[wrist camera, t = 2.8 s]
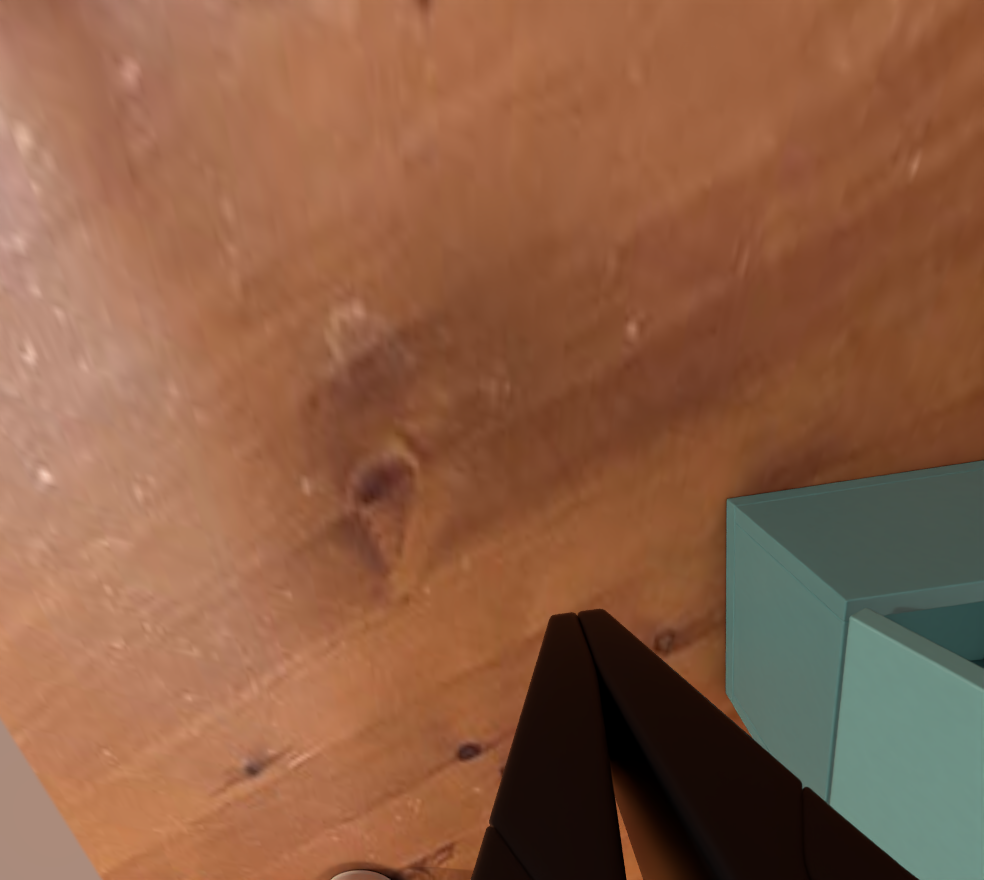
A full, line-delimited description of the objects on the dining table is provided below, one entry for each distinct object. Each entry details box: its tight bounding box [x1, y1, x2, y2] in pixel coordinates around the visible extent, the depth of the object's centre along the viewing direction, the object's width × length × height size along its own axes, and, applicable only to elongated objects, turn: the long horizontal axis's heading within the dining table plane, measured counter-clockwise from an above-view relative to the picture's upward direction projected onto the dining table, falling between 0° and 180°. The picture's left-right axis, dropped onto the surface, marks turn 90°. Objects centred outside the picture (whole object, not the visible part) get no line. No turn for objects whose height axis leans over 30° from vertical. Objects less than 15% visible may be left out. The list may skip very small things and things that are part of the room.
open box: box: [726, 460, 984, 805], centre depth 19 cm, size 14×12×7 cm
